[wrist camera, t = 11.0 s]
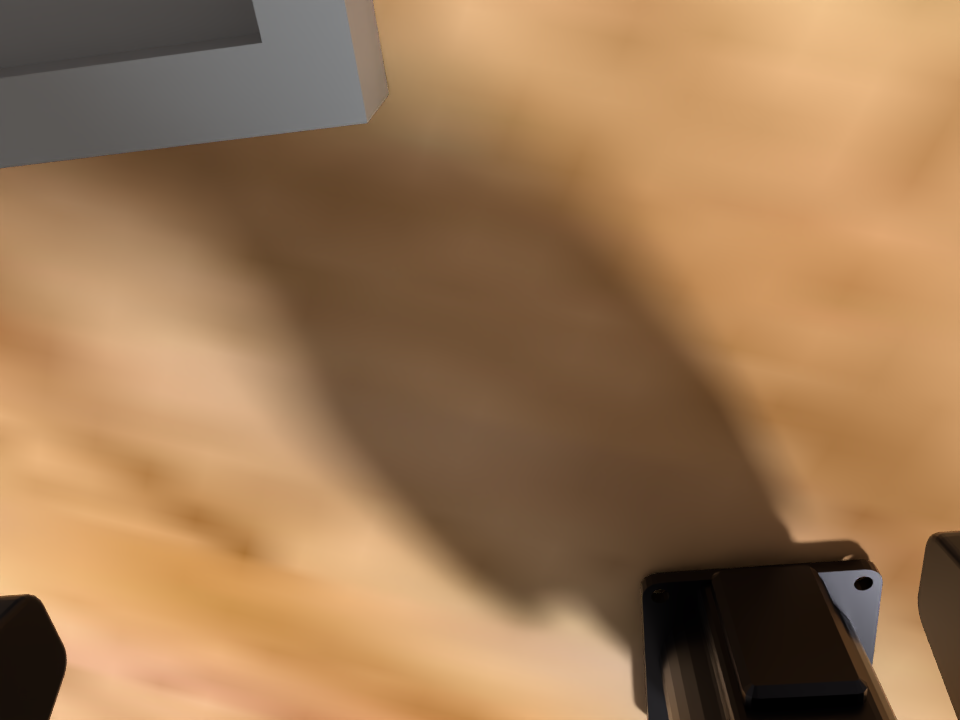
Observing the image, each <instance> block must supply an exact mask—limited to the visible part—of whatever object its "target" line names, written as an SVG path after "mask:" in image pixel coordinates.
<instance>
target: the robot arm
mask: <svg viewBox="0 0 960 720" xmlns="http://www.w3.org/2000/svg"><path fill="white" fill-rule="evenodd" d="M864 576H865V578H864V579H862V580H857V579H858V578H860V577H864ZM882 583H883V582H882V577H881V575H880V573H879V571H878V569H877V567H876V566H875V565H874V564H873V563H872V562H870V561H868V560H846V561H831V562H816V563H801V564H785V565H770V566H755V567H740V568H724V569H709V570H694V571H679V572H663V573H655V574H651V575H649V576H647V577H645V578H644V580H643V581H642V582H641V587H640V589H641V608H642V628H643V647H644V666H645V685H646V705H647V720H897V718H896V716H895V714H894V712H893V710H892V708H891V706H890V703H889V701H888V699H887V697H886V695H885V693H884V691H883V688H882V686H881V684H880V682H879V680H878V678H877V676H876V673H875V671H874V669H873V667H872V663H873V655H874V647H875V639H876V631H877V623H878V615H879V607H880V599H881V591H882ZM660 589H661V590H665V591H663V592H661V593H654V591H656V590H660ZM918 609H919V615H920V619H921V622H922V625H923V628H924V631H925V633H926V636H927V639H928V641H929V644H930V647H931V649H932V652H933V655H934V657H935V660H936V663H937V665H938V668H939V671H940V673H941V676H942V679H943V681H944V684H945V687H946V689H947V692H948V695H949V697H950V700H951V703H952V705H953V708H954V710H955V713H956V716H957V718H958V720H960V531H950V532H938V533H935V534H933V535H931V536H930V537H929V539H928V541H927V544H926V547H925V554H924V560H923V567H922V573H921V580H920V586H919V593H918ZM66 664H67V659H66V651H65V647H64V645H63V643H62V641H61V639H60V637H59V635H58V633H57V631H56V629H55V627H54V625H53V623H52V621H51V619H50V617H49V615H48V613H47V611H46V609H45V607H44V605H43V603H42V602H41V600H39V599H38V598H37V597H36V596H34V595H30V594H23V595H8V596H0V720H50V717H51V714H52V711H53V708H54V705H55V702H56V699H57V696H58V693H59V690H60V687H61V684H62V681H63V678H64V675H65V670H66Z"/></svg>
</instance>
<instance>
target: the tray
mask: <svg viewBox="0 0 960 720" xmlns="http://www.w3.org/2000/svg"><path fill="white" fill-rule="evenodd" d="M388 95H389V91H388V86H387V80H386V74H385V68H384V63H383V57H382V51H381V45H380V40H379V34H378V28H377V22H376V17H375V11H374V5H373V0H0V168H6V167H14V166H23V165H31V164H39V163H47V162H55V161H63V160H71V159H79V158H88V157H96V156H104V155H112V154H120V153H128V152H136V151H144V150H153V149H161V148H169V147H177V146H185V145H193V144H201V143H209V142H218V141H226V140H234V139H242V138H250V137H258V136H266V135H274V134H283V133H291V132H299V131H307V130H315V129H323V128H331V127H339V126H348V125H356V124H364V123H368V122H369V120H370V119H371V118H372V116H373V115H374V114H375V112H376V111H377V110H378V108H379V107H380V106H381V104H382V103H383V102H384V100H385V99H386V98H387V96H388Z"/></svg>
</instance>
